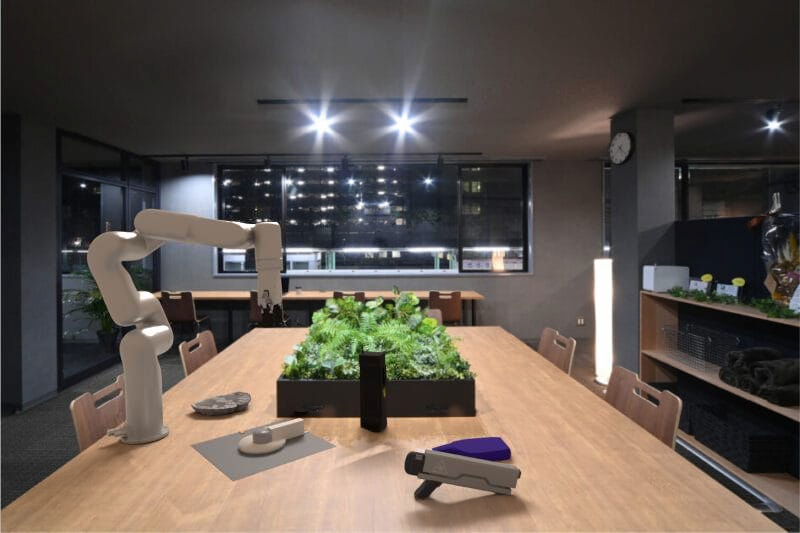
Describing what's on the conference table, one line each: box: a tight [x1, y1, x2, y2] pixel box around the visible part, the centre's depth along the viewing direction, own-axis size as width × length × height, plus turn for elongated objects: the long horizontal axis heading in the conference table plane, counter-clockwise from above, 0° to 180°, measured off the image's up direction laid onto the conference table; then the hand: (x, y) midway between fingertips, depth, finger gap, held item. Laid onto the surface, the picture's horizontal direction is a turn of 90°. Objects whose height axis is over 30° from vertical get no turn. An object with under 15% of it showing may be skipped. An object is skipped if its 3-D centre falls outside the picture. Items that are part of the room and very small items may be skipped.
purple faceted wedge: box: [413, 436, 512, 462], centre depth 125 cm, size 3×11×24 cm
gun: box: [403, 448, 522, 500], centre depth 105 cm, size 2×25×10 cm, turn 93°
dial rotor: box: [239, 417, 305, 454], centre depth 132 cm, size 18×12×4 cm, turn 132°
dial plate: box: [190, 419, 337, 482], centre depth 130 cm, size 28×28×2 cm
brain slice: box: [190, 391, 252, 416], centre depth 166 cm, size 20×17×3 cm
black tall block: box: [358, 344, 389, 433], centre depth 145 cm, size 8×6×25 cm
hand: (273, 324), depth 141 cm, fingers open, 9 cm apart
